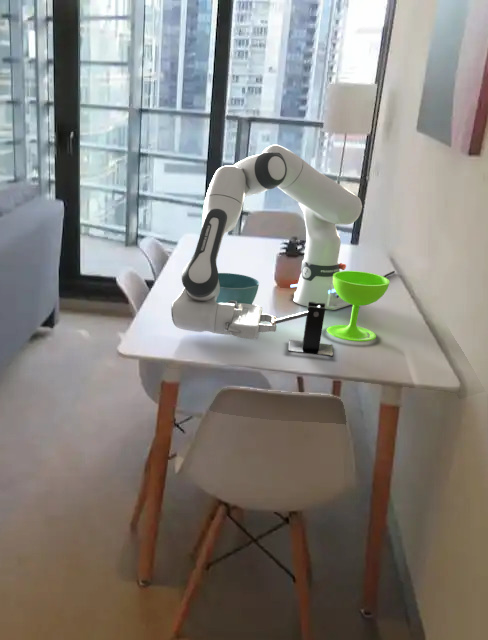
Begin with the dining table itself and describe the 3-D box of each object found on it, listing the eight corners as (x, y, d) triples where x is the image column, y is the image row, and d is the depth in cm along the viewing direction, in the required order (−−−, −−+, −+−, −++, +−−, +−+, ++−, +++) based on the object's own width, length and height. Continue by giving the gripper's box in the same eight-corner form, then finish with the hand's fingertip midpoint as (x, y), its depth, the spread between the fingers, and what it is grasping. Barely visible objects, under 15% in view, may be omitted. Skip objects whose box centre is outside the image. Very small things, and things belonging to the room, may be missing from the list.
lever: (271, 330, 199) (268, 322, 198) (272, 323, 204) (270, 315, 204) (322, 317, 194) (320, 309, 194) (322, 310, 200) (319, 302, 199)
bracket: (287, 354, 199) (294, 307, 194) (288, 343, 207) (295, 298, 202) (332, 360, 197) (340, 312, 191) (331, 348, 205) (338, 302, 199)
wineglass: (346, 348, 206) (357, 287, 199) (312, 330, 219) (321, 272, 212) (390, 342, 212) (401, 283, 205) (354, 325, 225) (364, 269, 218)
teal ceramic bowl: (186, 311, 231) (189, 274, 226) (235, 306, 238) (239, 270, 233) (214, 329, 216) (218, 290, 211) (265, 324, 222) (270, 286, 218)
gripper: (224, 319, 193) (276, 324, 190) (231, 298, 212) (279, 303, 209) (222, 341, 196) (273, 347, 193) (229, 319, 214) (276, 323, 211)
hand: (276, 323), depth 201 cm, fingers closed on lever, 6 cm apart
